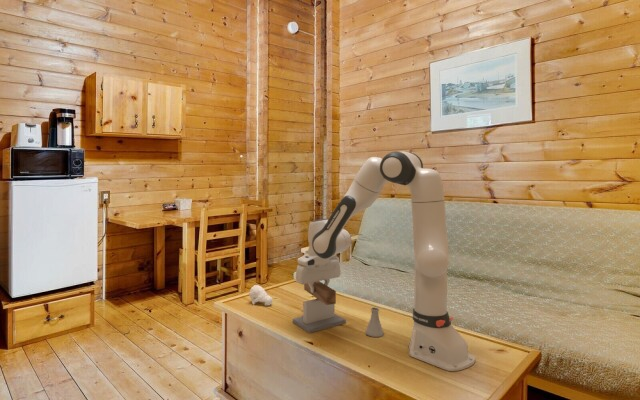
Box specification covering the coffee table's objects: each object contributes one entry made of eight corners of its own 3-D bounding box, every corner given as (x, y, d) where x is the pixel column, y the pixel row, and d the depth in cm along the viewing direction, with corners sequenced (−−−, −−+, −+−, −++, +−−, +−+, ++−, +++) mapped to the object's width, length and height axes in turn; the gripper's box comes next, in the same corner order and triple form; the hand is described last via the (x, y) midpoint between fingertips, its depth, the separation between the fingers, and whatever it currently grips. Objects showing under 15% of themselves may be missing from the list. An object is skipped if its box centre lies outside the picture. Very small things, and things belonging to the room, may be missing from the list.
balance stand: (345, 323, 160) (345, 299, 159) (309, 333, 150) (309, 308, 149) (327, 313, 171) (327, 291, 170) (292, 322, 161) (292, 299, 160)
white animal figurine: (256, 282, 188) (276, 288, 182) (255, 299, 189) (275, 305, 183) (248, 286, 182) (268, 292, 177) (247, 303, 183) (267, 310, 178)
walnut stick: (312, 288, 170) (312, 277, 170) (335, 303, 150) (335, 291, 150) (304, 289, 168) (304, 278, 168) (326, 305, 149) (326, 292, 148)
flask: (363, 336, 147) (363, 310, 147) (367, 328, 154) (368, 304, 153) (382, 338, 145) (382, 313, 144) (385, 331, 152) (386, 306, 151)
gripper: (334, 253, 167) (334, 284, 168) (293, 259, 155) (294, 293, 156) (343, 256, 161) (343, 288, 162) (301, 262, 150) (302, 297, 151)
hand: (318, 290), depth 159 cm, fingers closed on walnut stick, 4 cm apart
